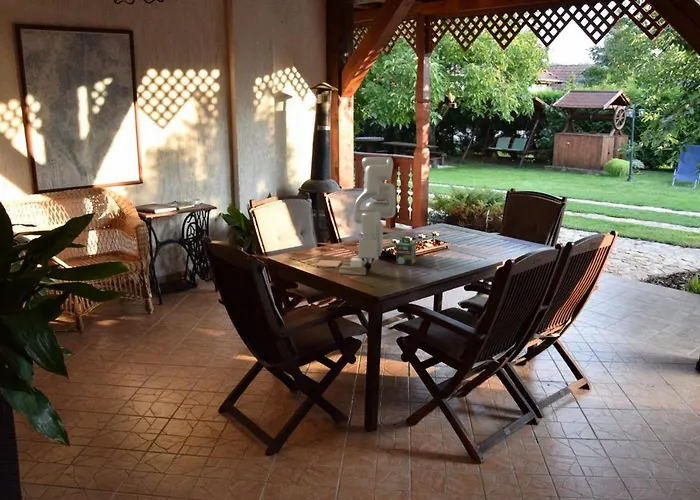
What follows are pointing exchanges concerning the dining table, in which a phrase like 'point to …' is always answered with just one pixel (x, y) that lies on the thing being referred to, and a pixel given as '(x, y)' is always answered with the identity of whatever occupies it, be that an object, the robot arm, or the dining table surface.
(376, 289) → the dining table surface
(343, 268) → the slot rack
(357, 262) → the cream block
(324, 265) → the terracotta tile
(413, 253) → the chalk box
